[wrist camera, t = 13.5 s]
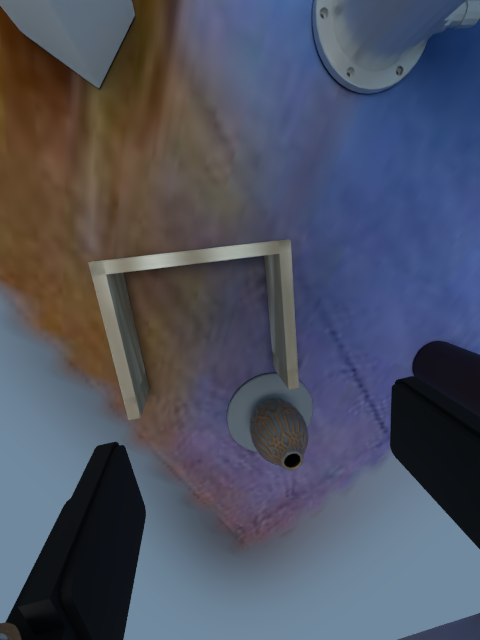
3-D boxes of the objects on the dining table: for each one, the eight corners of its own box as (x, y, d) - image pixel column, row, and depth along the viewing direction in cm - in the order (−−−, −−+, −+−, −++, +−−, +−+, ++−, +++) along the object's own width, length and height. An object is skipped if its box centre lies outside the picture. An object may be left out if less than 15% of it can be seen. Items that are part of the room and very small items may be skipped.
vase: (251, 387, 36) (269, 430, 27) (300, 393, 37) (331, 435, 29) (240, 433, 37) (254, 487, 29) (287, 437, 39) (313, 489, 30)
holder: (272, 240, 32) (290, 239, 26) (282, 365, 36) (298, 387, 30) (108, 259, 29) (88, 262, 24) (139, 390, 34) (128, 420, 28)
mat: (309, 365, 37) (311, 367, 36) (312, 439, 40) (314, 442, 40) (221, 381, 35) (222, 383, 35) (232, 457, 39) (232, 460, 38)
